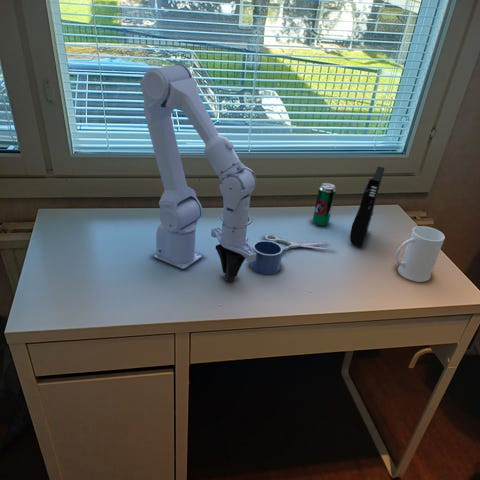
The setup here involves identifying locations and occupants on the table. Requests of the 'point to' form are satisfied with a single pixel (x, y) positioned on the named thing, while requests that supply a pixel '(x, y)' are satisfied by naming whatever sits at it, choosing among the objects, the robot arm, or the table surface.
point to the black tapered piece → (366, 209)
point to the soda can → (324, 204)
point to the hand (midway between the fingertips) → (230, 274)
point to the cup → (267, 257)
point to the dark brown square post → (227, 272)
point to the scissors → (292, 243)
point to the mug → (420, 253)
